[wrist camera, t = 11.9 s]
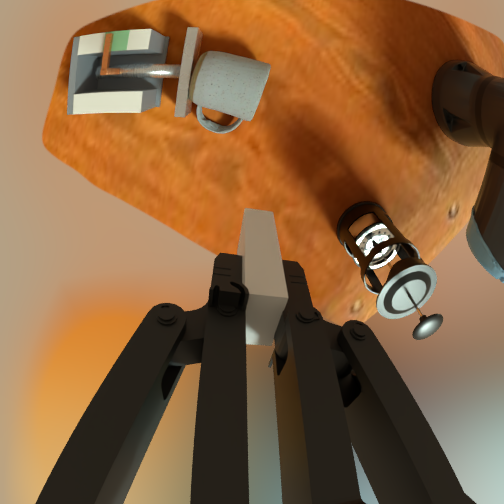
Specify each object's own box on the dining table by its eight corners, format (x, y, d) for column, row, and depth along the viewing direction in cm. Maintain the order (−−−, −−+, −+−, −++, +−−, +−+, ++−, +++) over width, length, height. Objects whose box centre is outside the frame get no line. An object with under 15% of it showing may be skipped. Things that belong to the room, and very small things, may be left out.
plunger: (202, 34, 27) (195, 23, 21) (190, 112, 33) (180, 120, 27) (111, 35, 25) (87, 29, 19) (103, 110, 31) (78, 119, 25)
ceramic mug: (207, 50, 29) (199, 44, 23) (268, 66, 31) (276, 63, 25) (186, 123, 35) (174, 135, 29) (244, 137, 37) (246, 152, 30)
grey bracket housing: (169, 37, 28) (155, 28, 22) (160, 106, 33) (144, 112, 27) (98, 41, 26) (72, 37, 20) (91, 106, 32) (66, 114, 26)
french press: (326, 247, 47) (375, 360, 28) (341, 196, 42) (413, 299, 23) (383, 252, 49) (444, 349, 30) (401, 206, 44) (482, 297, 25)
